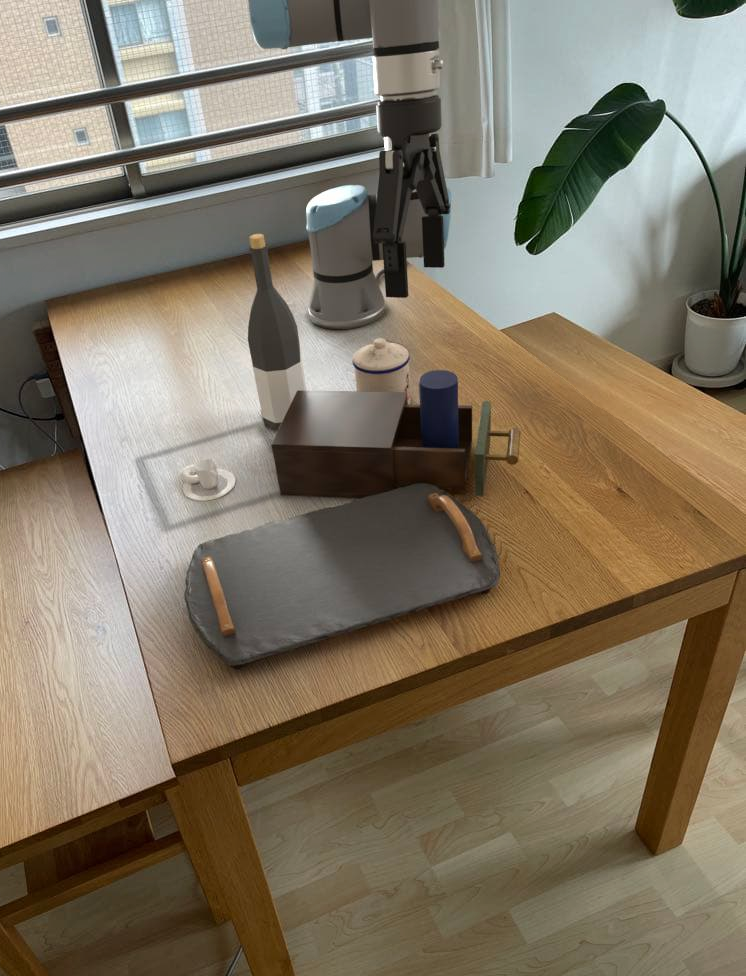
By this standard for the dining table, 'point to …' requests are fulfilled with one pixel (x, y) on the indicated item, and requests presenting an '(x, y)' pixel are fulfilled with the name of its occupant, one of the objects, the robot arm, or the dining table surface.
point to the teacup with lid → (382, 368)
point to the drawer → (448, 451)
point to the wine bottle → (273, 342)
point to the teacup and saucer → (206, 479)
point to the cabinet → (338, 443)
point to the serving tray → (336, 571)
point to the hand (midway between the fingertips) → (416, 281)
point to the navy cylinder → (439, 409)
